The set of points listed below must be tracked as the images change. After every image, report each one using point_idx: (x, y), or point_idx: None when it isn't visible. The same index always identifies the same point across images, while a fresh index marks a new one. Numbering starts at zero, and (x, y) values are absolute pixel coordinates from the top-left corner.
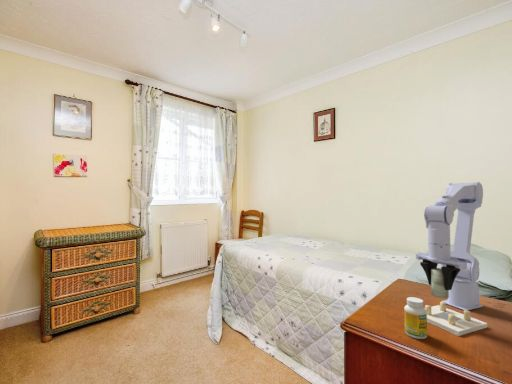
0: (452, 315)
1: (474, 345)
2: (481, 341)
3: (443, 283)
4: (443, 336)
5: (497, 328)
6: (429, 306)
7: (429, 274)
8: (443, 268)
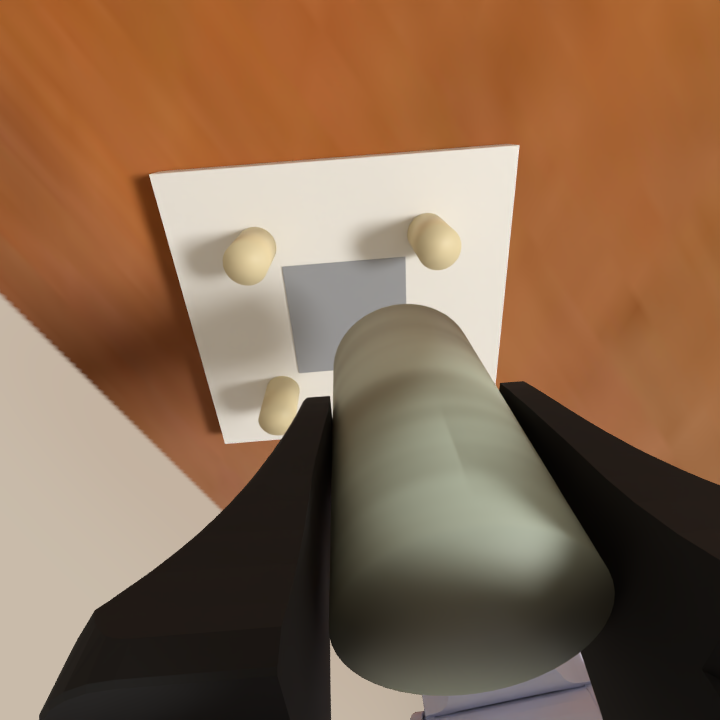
0: (241, 265)
1: (40, 150)
2: (89, 248)
3: (340, 432)
4: (170, 49)
5: (213, 459)
6: (429, 250)
7: (574, 466)
8: (208, 643)
